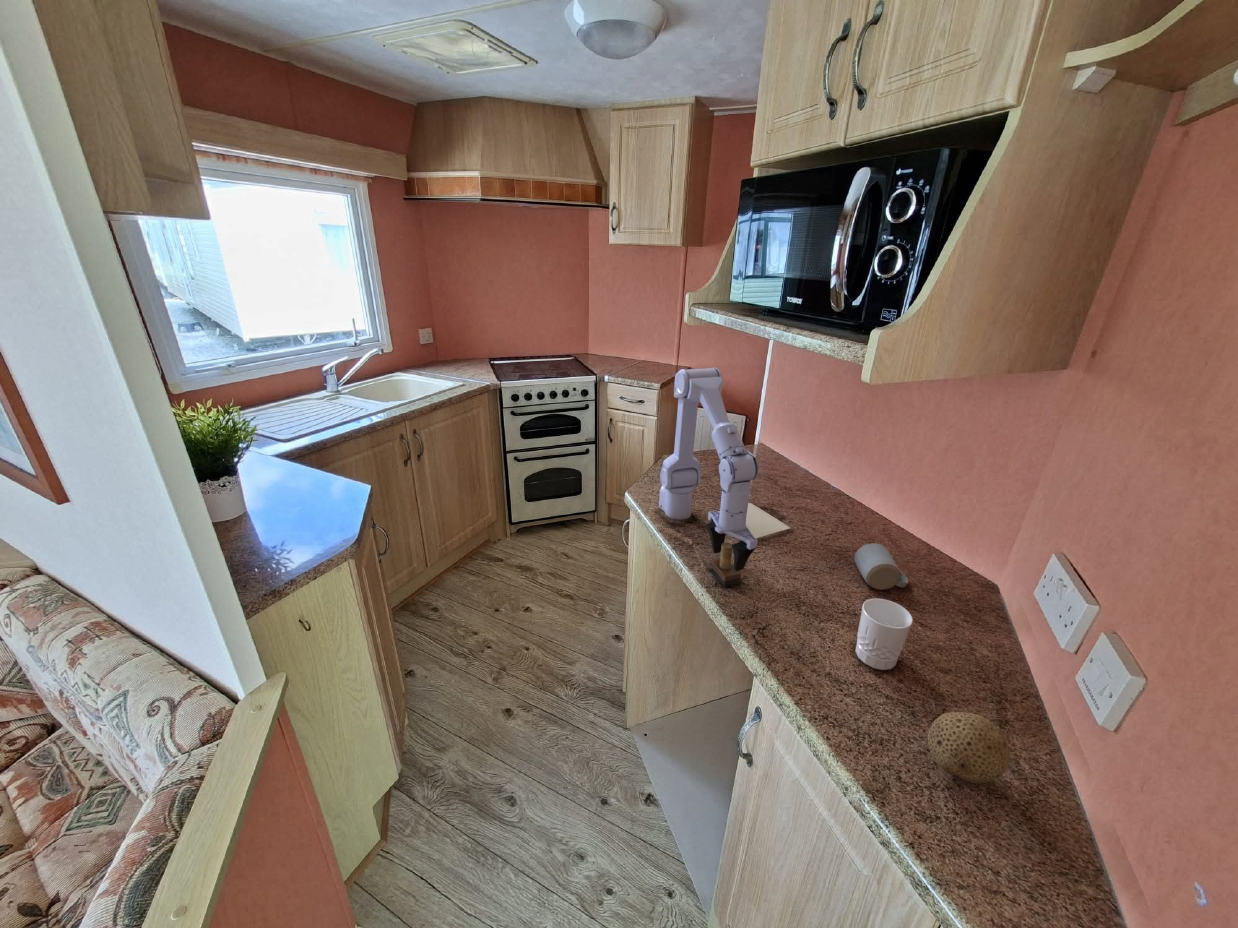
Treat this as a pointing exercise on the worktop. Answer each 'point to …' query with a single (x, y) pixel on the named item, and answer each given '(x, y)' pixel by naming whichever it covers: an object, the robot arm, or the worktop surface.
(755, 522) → the tile
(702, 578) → the worktop surface
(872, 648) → the white cup
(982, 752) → the natural sponge
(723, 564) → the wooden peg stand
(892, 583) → the ceramic mug
